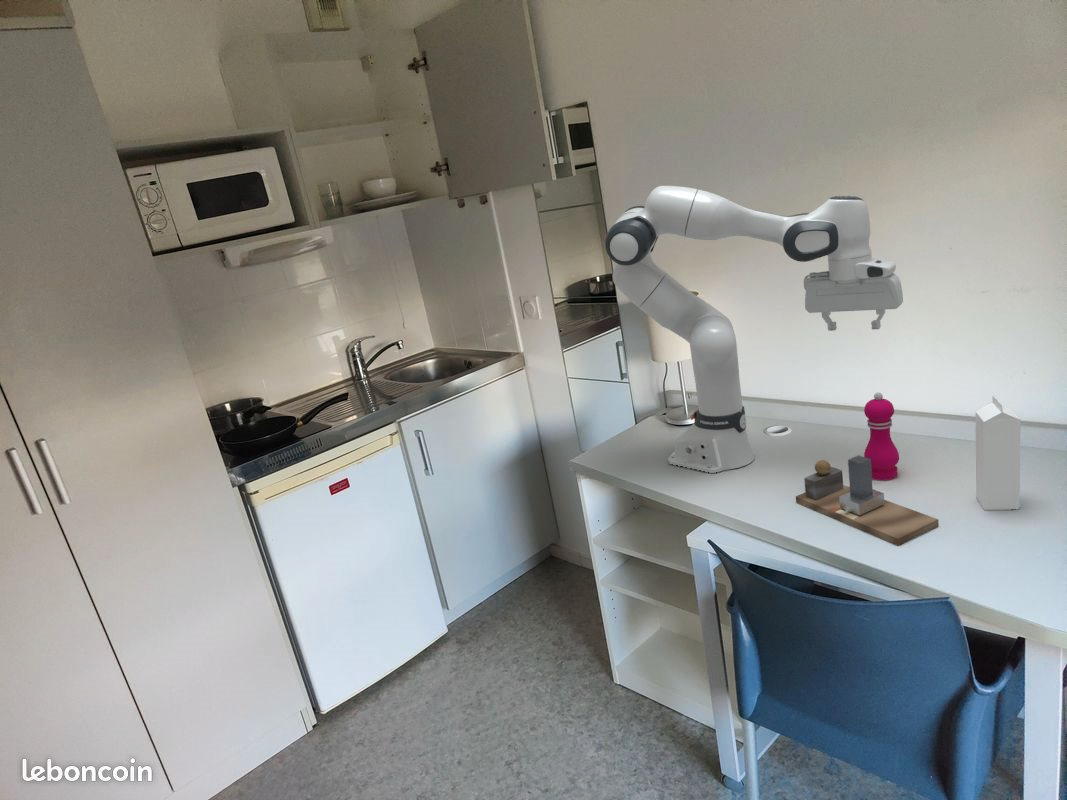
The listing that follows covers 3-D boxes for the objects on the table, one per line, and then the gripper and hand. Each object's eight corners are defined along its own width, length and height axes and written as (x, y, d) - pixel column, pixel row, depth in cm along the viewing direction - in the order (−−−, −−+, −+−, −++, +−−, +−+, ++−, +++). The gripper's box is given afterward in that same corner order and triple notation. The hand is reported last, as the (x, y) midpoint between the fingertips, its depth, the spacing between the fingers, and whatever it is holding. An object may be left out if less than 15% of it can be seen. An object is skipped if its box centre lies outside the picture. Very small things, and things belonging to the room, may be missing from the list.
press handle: (836, 509, 143) (832, 463, 140) (864, 496, 146) (861, 451, 143) (855, 517, 139) (852, 469, 136) (884, 504, 142) (882, 457, 139)
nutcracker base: (796, 502, 153) (792, 464, 150) (832, 486, 157) (830, 449, 154) (898, 545, 130) (896, 502, 127) (938, 526, 133) (937, 483, 131)
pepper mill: (904, 479, 154) (900, 395, 148) (869, 482, 155) (864, 399, 150) (894, 467, 160) (891, 386, 155) (861, 469, 162) (856, 389, 157)
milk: (984, 510, 136) (983, 406, 130) (976, 497, 141) (975, 396, 135) (1019, 509, 134) (1020, 403, 128) (1009, 496, 139) (1010, 393, 133)
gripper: (798, 275, 158) (803, 334, 161) (896, 268, 144) (899, 331, 148) (807, 270, 162) (811, 327, 166) (903, 262, 149) (905, 324, 153)
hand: (853, 329), depth 157 cm, fingers open, 8 cm apart
